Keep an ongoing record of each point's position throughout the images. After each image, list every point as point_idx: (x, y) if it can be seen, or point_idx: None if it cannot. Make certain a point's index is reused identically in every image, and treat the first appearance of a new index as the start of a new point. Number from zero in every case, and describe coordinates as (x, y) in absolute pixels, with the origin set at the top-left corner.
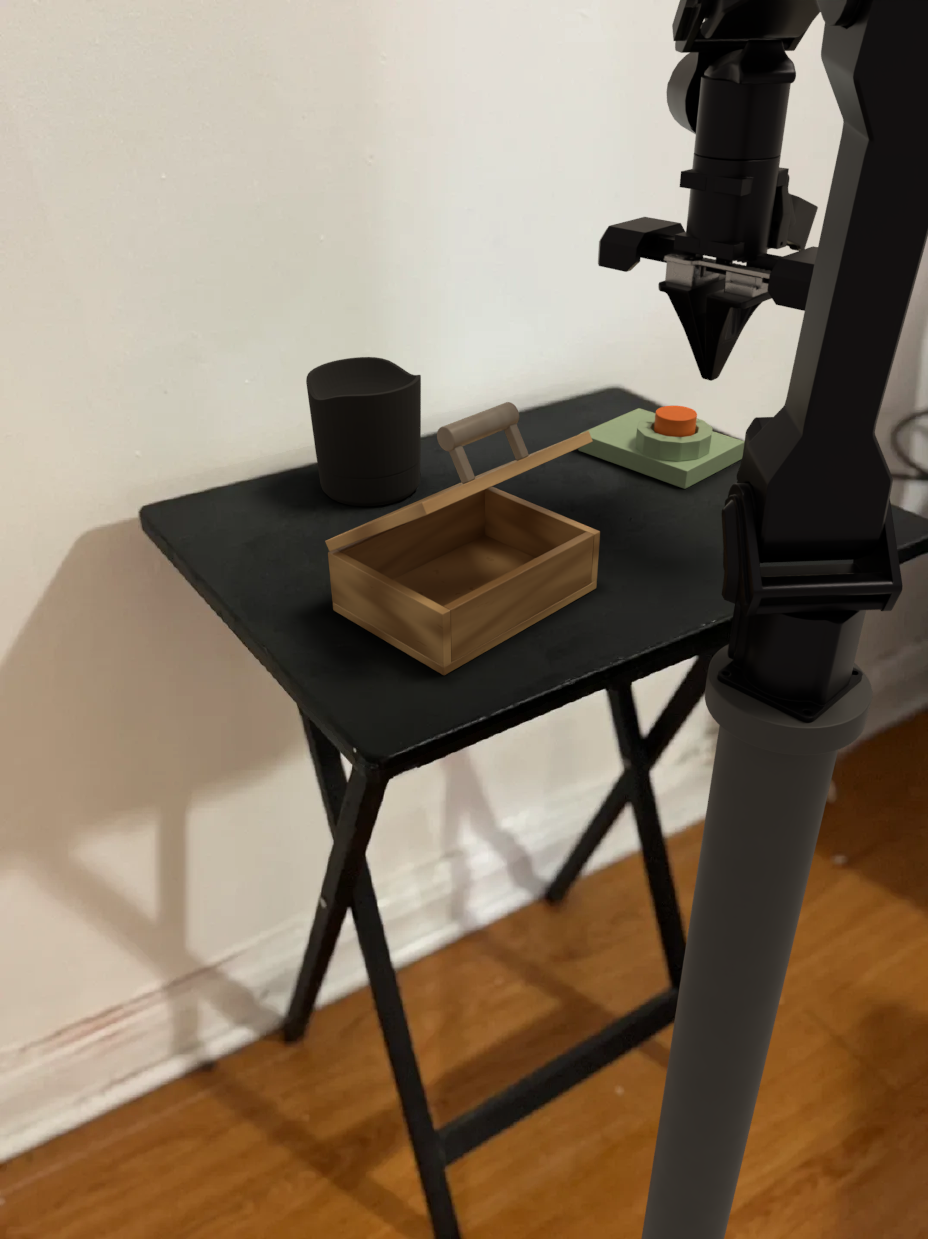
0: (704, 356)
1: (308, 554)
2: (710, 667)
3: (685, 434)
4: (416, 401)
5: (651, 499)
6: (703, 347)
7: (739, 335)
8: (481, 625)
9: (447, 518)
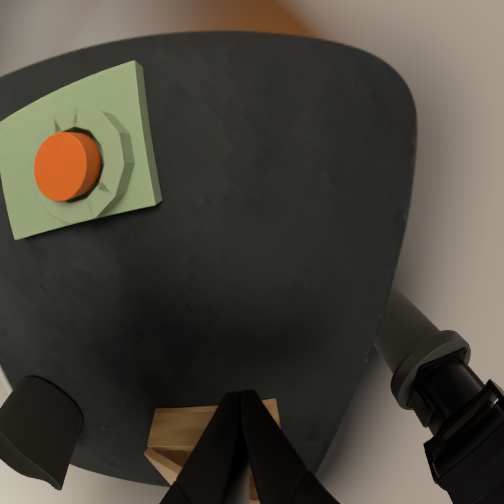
0: (249, 468)
1: (132, 460)
2: (400, 405)
3: (97, 170)
4: (40, 450)
5: (161, 254)
6: (248, 490)
7: (311, 472)
8: None
9: (173, 461)
